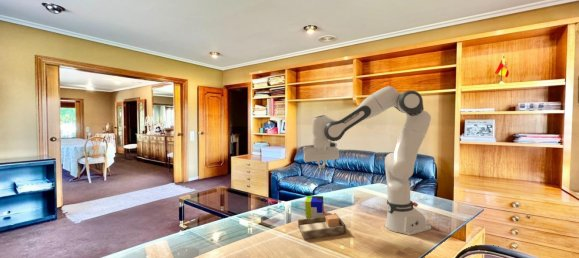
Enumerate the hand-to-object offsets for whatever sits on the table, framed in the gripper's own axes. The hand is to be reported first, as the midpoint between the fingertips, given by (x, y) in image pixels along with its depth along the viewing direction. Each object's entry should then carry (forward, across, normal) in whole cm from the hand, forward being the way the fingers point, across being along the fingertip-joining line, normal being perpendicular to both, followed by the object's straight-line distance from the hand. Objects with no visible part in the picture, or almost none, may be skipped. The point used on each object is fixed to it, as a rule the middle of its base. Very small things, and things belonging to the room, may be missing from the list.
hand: (321, 168), depth 147 cm
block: (+29, +2, -10) cm, 30 cm away
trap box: (+31, -5, -10) cm, 33 cm away
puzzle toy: (+31, -3, +10) cm, 33 cm away
